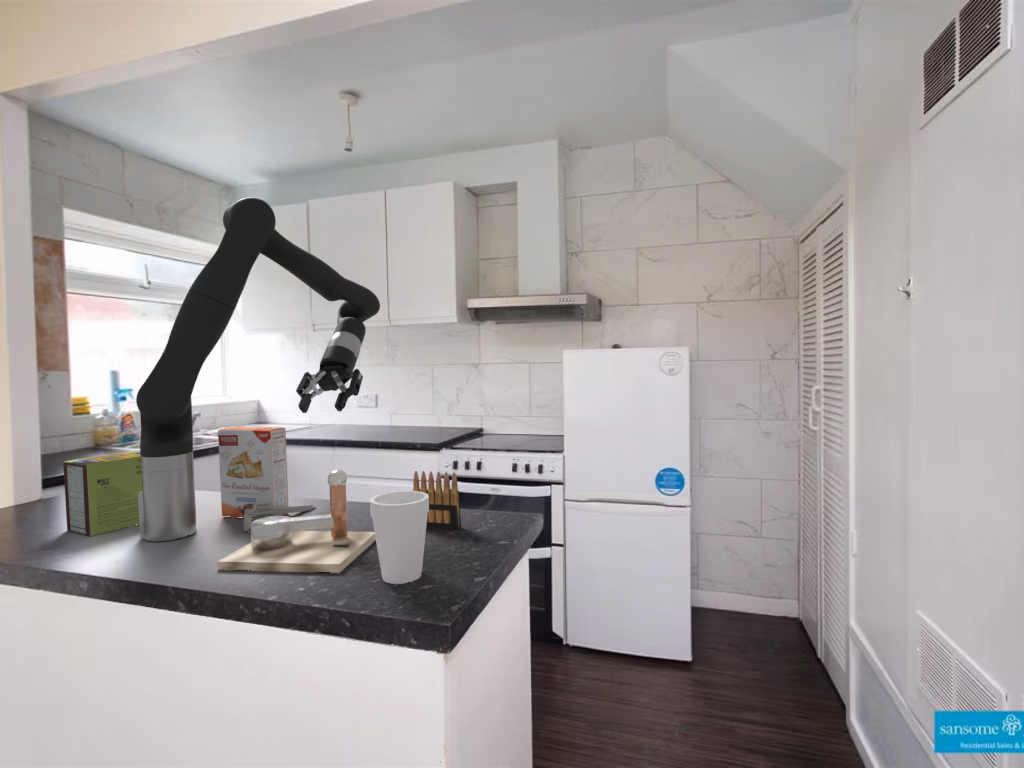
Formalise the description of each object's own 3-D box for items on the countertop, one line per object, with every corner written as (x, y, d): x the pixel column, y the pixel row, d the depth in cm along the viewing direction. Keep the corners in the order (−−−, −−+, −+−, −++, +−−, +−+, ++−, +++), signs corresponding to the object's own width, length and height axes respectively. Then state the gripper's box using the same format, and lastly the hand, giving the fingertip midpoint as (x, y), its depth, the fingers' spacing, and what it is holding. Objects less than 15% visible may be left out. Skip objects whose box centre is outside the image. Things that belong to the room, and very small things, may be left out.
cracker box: (220, 518, 123) (216, 429, 122) (238, 511, 128) (235, 425, 128) (273, 521, 119) (269, 429, 119) (289, 514, 125) (286, 426, 125)
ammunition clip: (411, 526, 113) (409, 471, 113) (415, 524, 115) (413, 469, 115) (458, 530, 111) (456, 473, 110) (461, 527, 112) (459, 471, 112)
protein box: (166, 517, 125) (163, 452, 124) (89, 537, 111) (85, 464, 110) (141, 512, 130) (138, 449, 129) (65, 531, 116) (61, 460, 115)
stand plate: (217, 570, 91) (217, 560, 91) (272, 537, 108) (272, 529, 108) (339, 573, 89) (339, 563, 89) (376, 539, 106) (376, 530, 106)
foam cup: (432, 584, 83) (429, 502, 83) (371, 591, 81) (368, 507, 81) (428, 562, 93) (426, 489, 92) (374, 568, 91) (371, 492, 90)
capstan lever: (247, 550, 95) (244, 479, 94) (255, 538, 101) (252, 472, 101) (348, 540, 99) (346, 472, 99) (349, 529, 106) (347, 465, 106)
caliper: (247, 534, 111) (246, 505, 111) (244, 534, 112) (242, 504, 112) (316, 508, 130) (315, 483, 130) (313, 508, 131) (312, 483, 131)
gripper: (306, 346, 124) (282, 401, 114) (362, 342, 121) (342, 398, 111) (321, 367, 130) (299, 421, 120) (375, 363, 127) (357, 418, 117)
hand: (320, 410), depth 115 cm, fingers open, 8 cm apart
